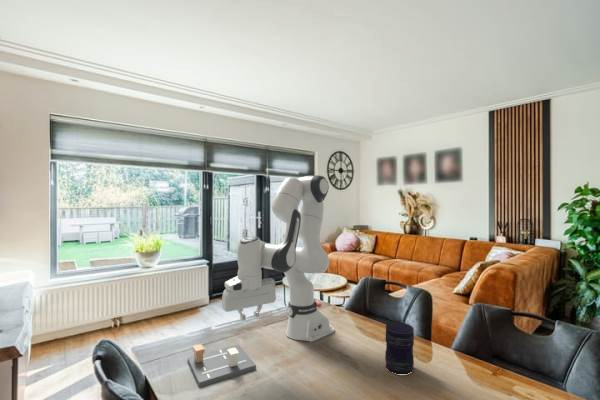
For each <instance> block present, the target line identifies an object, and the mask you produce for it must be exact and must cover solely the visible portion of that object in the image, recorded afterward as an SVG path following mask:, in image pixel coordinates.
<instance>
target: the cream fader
mask: <svg viewBox="0 0 600 400" xmlns="http://www.w3.org/2000/svg"><path fill="white" fill-rule="evenodd" d="M227 355H228V363H229V364H230V366H231V367H233V366H236V365H238V357H239V352H238V351H237V349H236V348H235V347H234V348H231V349H227Z"/></svg>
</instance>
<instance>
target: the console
mask: <svg viewBox="0 0 600 400" xmlns="http://www.w3.org/2000/svg"><path fill="white" fill-rule="evenodd" d="M234 347H235V348H236V349H237V351H238V352H239V357H238V365H236V366H233V367H231V366H230V364H229V363H228V355H227V349H231V348H234ZM187 364H188V365H189V367H190V370H191V372H192V374H193V377H194V378H195V380H196V383H197V386H198V387H199V388H201V387H204V386H206V385H209V384H213V383H216V382H220V381H223V380H226V379H230V378H232V377H235V376H239V375H241V374H245V373H248V372H251V371H252V372H253V371H254V370H255V371H256V370H257V364H256V363H255V362H254V361H253V359H252V358H251V357H250V356H249V355H248V354H247V352H246V351H245V350H244V349H243V348H242V346H241V345H240V344H234V345H231V346H226V347H222V348H219V349H215V350H211V351H208V352H207V351H206V352H204V354H203V361H202V362H198V363H196V361H195V359H194V355H192V356H187Z"/></svg>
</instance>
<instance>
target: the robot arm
mask: <svg viewBox="0 0 600 400" xmlns="http://www.w3.org/2000/svg"><path fill="white" fill-rule="evenodd" d="M329 188H330V186H329V181H328V180H327V179H326V177H325V176H323V175H318V174H316V175H305V176H300V177H294V176H291V177H287V178H285V179H283V181H282V183H281V184H280V186H279V187H278V189H277V191H276V193H275V194H274V195H275V196H274V198H273V200H272V203H271V210H272V213H273V214H274V215H275V216H276V218H278V219H279V220H280V221H282V222H284V223H286V228H285V232H284V237H283V241H282V242H281V243H279V244H277V243H269V242H266V241H262V240H261V239H260V237H258V236H257V235H256V236H255V235H254V236H253V235H250V236H246V237H243V238H242V239H240V240H239V242H238V247H237V257H236V259H237V264H238V270H237V275H236V276H234V277H232V278H229V280H226V281H225V282H224V287H225V289H224V290H223V292H222V296H221V297H222V298H221V308H222V310H224V311H225V312H226V313H228V312H232V311H237V313H238V314H239V318H240V321H245V320H246V317H247V315H246V314H245V313H243V311H244V309H248V308H252V307H257V308H256V310H254V311H253V317H254V318H259V317H260V313H261V310H262V309H263V305H268V304H273V303H275V302H276V299H277V298H276V297H277V296H276V289H275V287H276V281H275V279H274V278H271V277H269V278H268V277H267V278H262V277H263V275H262V274H263V272H262V268H264V269H267V270H273V271H277V272H280V273H283V274H284V275H285V278H286V281H287V284H288V294H289V296H288V298H289V299H288V300H289V301H288V302H287V303H288V304H287V305H288V306H287V311H288V321H287V326H286V330H285V335H286V336H287V337H288V338H290V339H293V340H296V341H297V340H298V341H307V342H315V341H317V340H320V339H322V338H324V337H327V336H328V335H330V334H333V333H334V332H335V328H334V326H333V325H331V324H330V321H329V317H328V316H327V314H325V313H324V312H322V311H321V310H319V309H320V308H321V307H322V304H321V302H318V301H315V296H314V295H315V287H314V286H315V285H314V284H313V282H312V281H311V280H310V279H308V277H306V275H305V274H323V273H326V271H327V270H328V268H329V266H330V257H329V255H328V253H327V251H325V250H324V248H323V246H322V243H321V239H320V238H321V230H322V223H323V218H324V202H323V201H325V199H326V197H327V195H328V192H329ZM301 201H302V207H301V209H300V211H299V205H300V203H301ZM298 239H301V240H302V243H303V245H302V246H297V244H298ZM318 308H319V309H318Z"/></svg>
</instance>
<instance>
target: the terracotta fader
mask: <svg viewBox="0 0 600 400" xmlns="http://www.w3.org/2000/svg"><path fill="white" fill-rule="evenodd" d="M192 350H193V351H192V352H194V354H193V356H194V359H195V361H196V363H198V362H202V361H203V354H204V353H205V348H204V346H203V344H202V343H200V344H195V345H193V346H192Z"/></svg>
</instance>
